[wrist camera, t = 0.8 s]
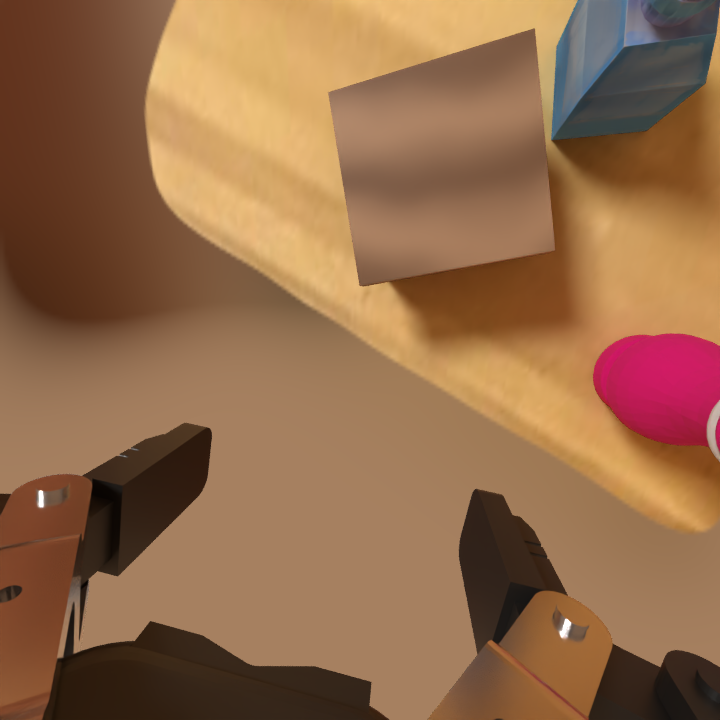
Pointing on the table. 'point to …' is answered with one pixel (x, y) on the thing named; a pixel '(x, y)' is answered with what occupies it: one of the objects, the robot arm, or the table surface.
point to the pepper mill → (664, 387)
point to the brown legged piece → (446, 163)
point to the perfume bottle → (629, 63)
